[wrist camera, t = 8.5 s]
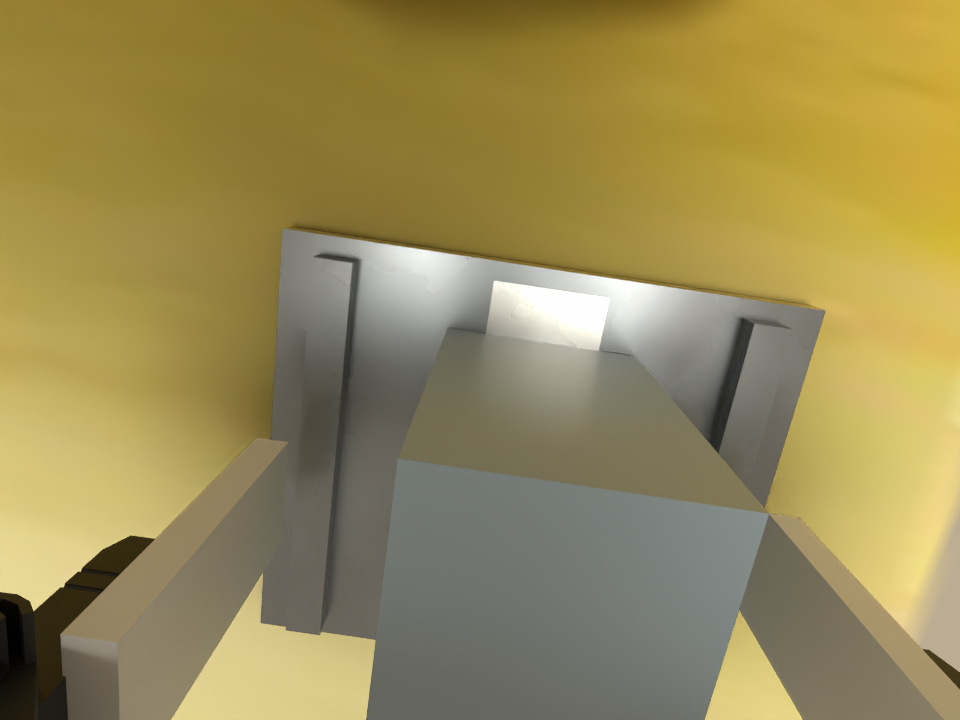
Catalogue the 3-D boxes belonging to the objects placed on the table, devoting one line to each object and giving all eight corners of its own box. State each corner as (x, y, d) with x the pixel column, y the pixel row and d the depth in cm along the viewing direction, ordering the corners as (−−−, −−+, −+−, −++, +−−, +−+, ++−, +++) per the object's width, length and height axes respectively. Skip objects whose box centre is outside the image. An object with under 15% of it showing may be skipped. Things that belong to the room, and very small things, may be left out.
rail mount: (292, 226, 16) (272, 229, 14) (809, 305, 16) (840, 316, 15) (270, 605, 19) (251, 639, 18) (700, 667, 19) (716, 706, 18)
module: (446, 327, 16) (393, 458, 8) (637, 356, 16) (772, 514, 8) (406, 615, 18) (337, 929, 10) (573, 639, 18) (628, 970, 10)
